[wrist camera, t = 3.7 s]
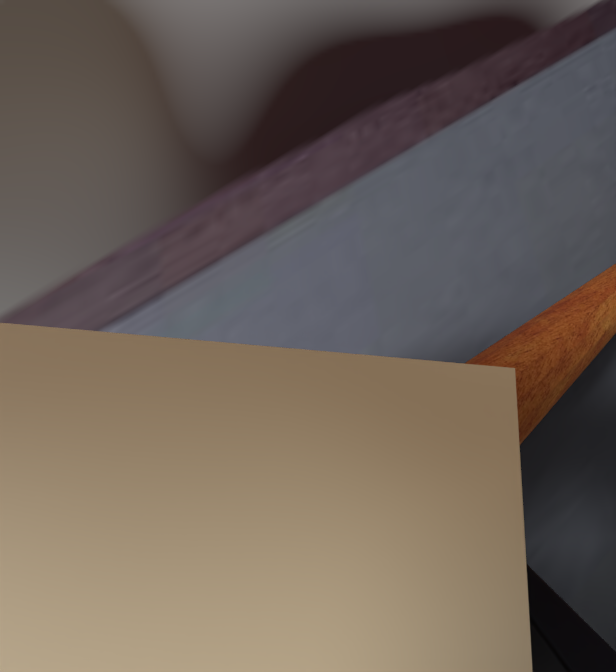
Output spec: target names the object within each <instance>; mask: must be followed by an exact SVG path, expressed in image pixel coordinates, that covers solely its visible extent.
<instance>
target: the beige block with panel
mask: <svg viewBox="0 0 616 672" xmlns="http://www.w3.org/2000/svg"><path fill="white" fill-rule="evenodd" d="M0 672H533V671H532V653H531V636H530V619H529V601H528V584H527V567H526V549H525V532H524V515H523V497H522V480H521V463H520V445H519V428H518V411H517V394H516V376H515V368H508V367H496V366H485V365H474V364H462V363H451V362H440V361H428V360H417V359H406V358H394V357H383V356H372V355H360V354H349V353H337V352H326V351H315V350H303V349H292V348H281V347H269V346H258V345H247V344H235V343H224V342H212V341H201V340H190V339H178V338H167V337H156V336H144V335H133V334H122V333H110V332H99V331H87V330H76V329H65V328H53V327H42V326H31V325H19V324H8V323H0Z"/></svg>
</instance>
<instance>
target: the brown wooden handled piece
mask: <svg viewBox="0 0 616 672" xmlns="http://www.w3.org/2000/svg"><path fill="white" fill-rule="evenodd" d="M615 334H616V264H614V265H613V266H611V267H610V268H608V269H607V270H605V271H604V272H602V273H601V274H599V275H598V276H596V277H595V278H593V279H592V280H590V281H589V282H587V283H586V284H584V285H583V286H581V287H580V288H578V289H577V290H575V291H573V292H572V293H570V294H569V295H567V296H566V297H564V298H563V299H561V300H560V301H558V302H557V303H555V304H554V305H552V306H551V307H549V308H548V309H546V310H545V311H543V312H542V313H540V314H539V315H537V316H536V317H534V318H533V319H531V320H530V321H528V322H527V323H525V324H524V325H522V326H520V327H519V328H517V329H516V330H514V331H513V332H511V333H510V334H508V335H507V336H505V337H504V338H502V339H501V340H499V341H498V342H496V343H495V344H493V345H492V346H490V347H489V348H487V349H486V350H484V351H483V352H481V353H480V354H478V355H477V356H475V357H474V358H472V359H471V360H469V361H467V362H466V363H464V364H474V365H485V366H496V367H508V368H515V376H516V394H517V411H518V428H519V445H520V444H521V443H522V442H523V441H524V440H525V439H526V437H527V436H528V435H529V434H530V433H531V432H532V430H533V429H534V428H535V427H536V426H537V425H538V423H539V422H540V421H541V420H542V419H543V418H544V416H545V415H546V414H547V413H548V412H549V411H550V409H551V408H552V407H553V406H554V405H555V404H556V402H557V401H558V400H559V399H560V398H561V397H562V395H563V394H564V393H565V392H566V391H567V390H568V388H569V387H570V386H571V385H572V384H573V383H574V381H575V380H576V379H577V378H578V377H579V376H580V374H581V373H582V372H583V371H584V370H585V369H586V367H587V366H588V365H589V364H590V363H591V362H592V360H593V359H594V358H595V357H596V356H597V355H598V353H599V352H600V351H601V350H602V349H603V348H604V346H605V345H606V344H607V343H608V342H609V341H610V339H611V338H612V337H613V336H614V335H615Z"/></svg>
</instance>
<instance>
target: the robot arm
mask: <svg viewBox="0 0 616 672" xmlns="http://www.w3.org/2000/svg"><path fill="white" fill-rule="evenodd" d="M526 567H527V584H528V601H529V619H530V636H531V653H532V671H533V672H616V652H615V651H614V650H613V649H612V648H611V647H610V646H609V645H608V644H607V643H606V642H605V641H604V640H603V639H602V638H601V637H600V636H599V635H598V634H597V633H596V632H595V631H594V630H593V629H592V628H591V627H590V626H589V625H588V624H587V623H586V622H585V621H584V620H583V619H582V618H581V617H580V616H579V615H578V614H577V613H576V612H575V611H574V610H573V609H572V608H571V607H570V606H569V605H568V604H567V603H566V602H565V601H564V600H563V599H562V598H561V597H560V596H559V595H558V594H556V593H555V592H554V591H553V590H552V589H551V588H550V587H549V586H548V585H547V584H546V583H545V582H544V581H543V580H542V579H541V578H540V577H539V576H538V575H537V574H536V573H535V572H534V571H533V570H532V569H531V568H530V567H529V566H528V565H527V564H526Z"/></svg>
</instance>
